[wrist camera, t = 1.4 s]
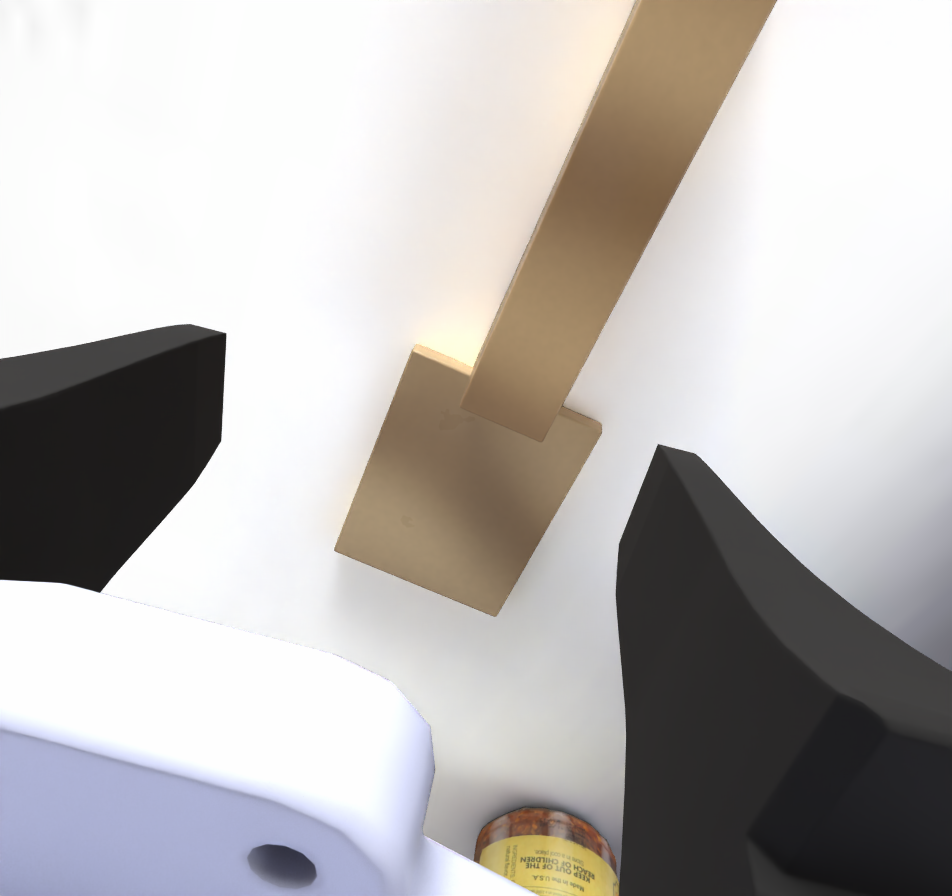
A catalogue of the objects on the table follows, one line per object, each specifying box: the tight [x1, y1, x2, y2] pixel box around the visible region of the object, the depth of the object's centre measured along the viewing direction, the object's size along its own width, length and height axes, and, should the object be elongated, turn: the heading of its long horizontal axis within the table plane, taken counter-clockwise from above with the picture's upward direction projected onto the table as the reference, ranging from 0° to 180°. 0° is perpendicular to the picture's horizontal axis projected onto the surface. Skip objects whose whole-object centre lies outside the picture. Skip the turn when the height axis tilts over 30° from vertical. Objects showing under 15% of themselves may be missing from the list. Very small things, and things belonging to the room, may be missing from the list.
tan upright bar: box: [334, 0, 777, 617], centre depth 20 cm, size 20×6×3 cm, turn 157°
